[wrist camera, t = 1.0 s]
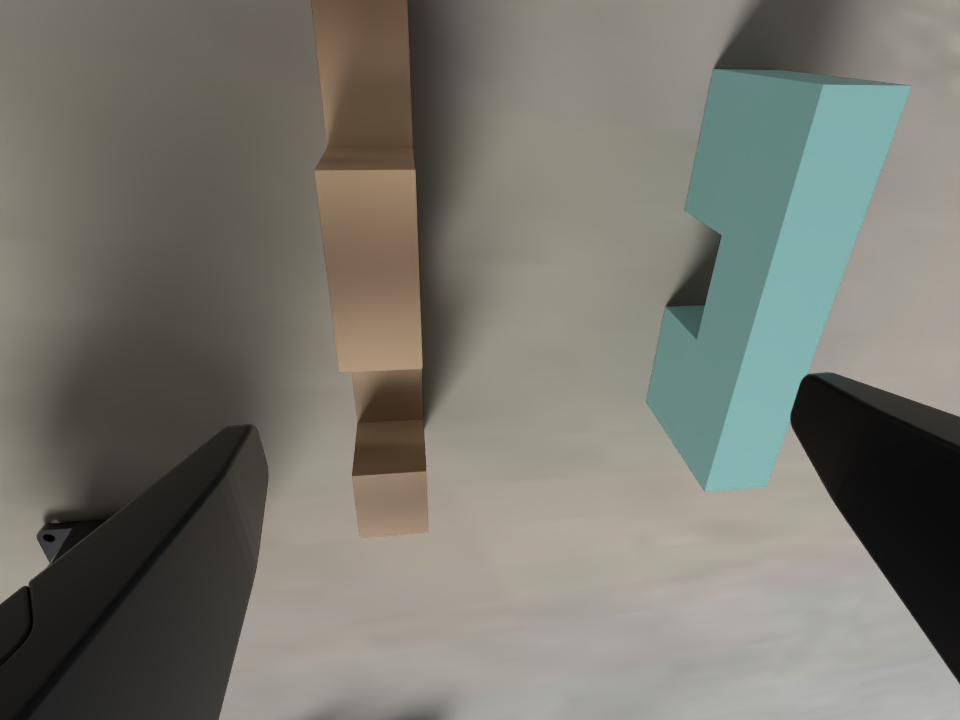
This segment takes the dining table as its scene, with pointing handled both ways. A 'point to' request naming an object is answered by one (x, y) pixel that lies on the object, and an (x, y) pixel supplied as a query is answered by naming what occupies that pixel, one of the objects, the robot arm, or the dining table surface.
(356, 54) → the walnut slotted board
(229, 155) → the dining table surface
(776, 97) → the teal notched plate
